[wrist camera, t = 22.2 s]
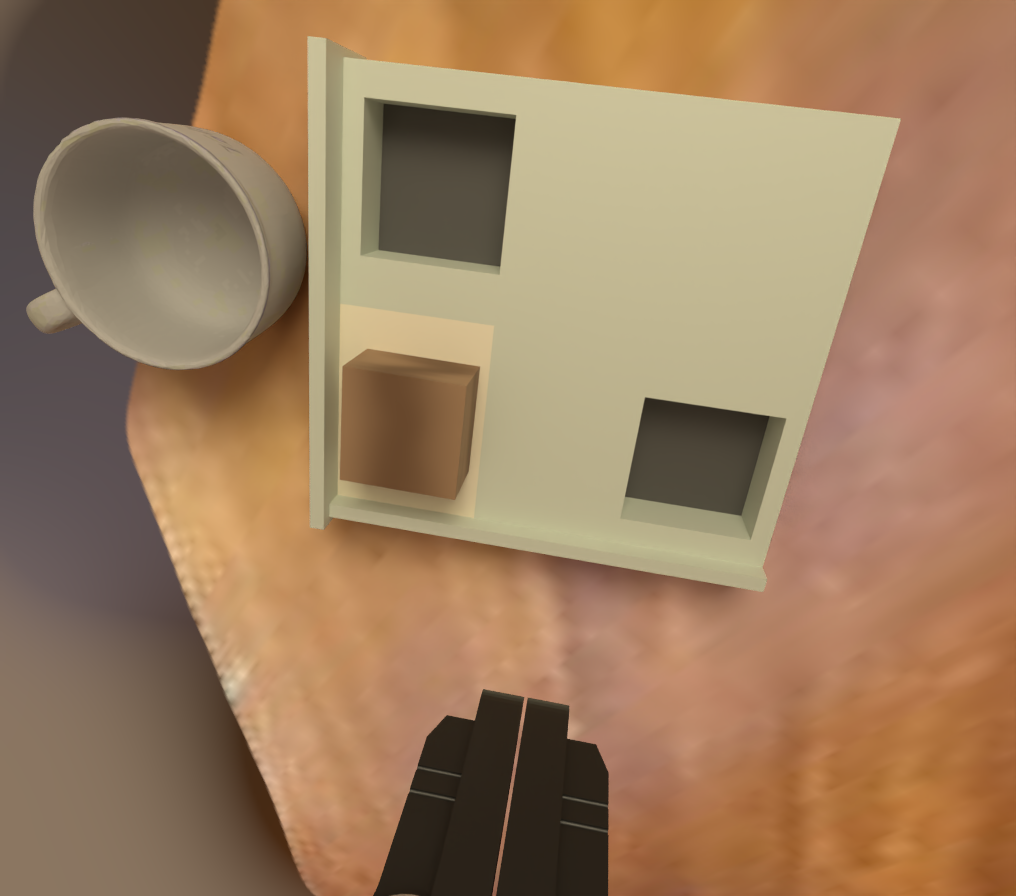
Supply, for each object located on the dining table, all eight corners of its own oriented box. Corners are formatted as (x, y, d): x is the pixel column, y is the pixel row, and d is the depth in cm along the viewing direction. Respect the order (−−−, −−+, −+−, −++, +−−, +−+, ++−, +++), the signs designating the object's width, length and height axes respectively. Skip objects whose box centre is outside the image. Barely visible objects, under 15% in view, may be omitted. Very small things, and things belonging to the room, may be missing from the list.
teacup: (291, 103, 34) (202, 83, 26) (358, 314, 37) (297, 348, 30) (66, 176, 37) (-71, 175, 29) (148, 363, 40) (45, 405, 33)
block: (480, 366, 34) (466, 386, 31) (468, 471, 37) (454, 500, 33) (367, 348, 35) (342, 366, 31) (363, 453, 37) (339, 479, 34)
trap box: (877, 114, 30) (925, 103, 26) (746, 557, 39) (764, 607, 35) (350, 56, 32) (307, 36, 28) (343, 488, 42) (309, 527, 37)
